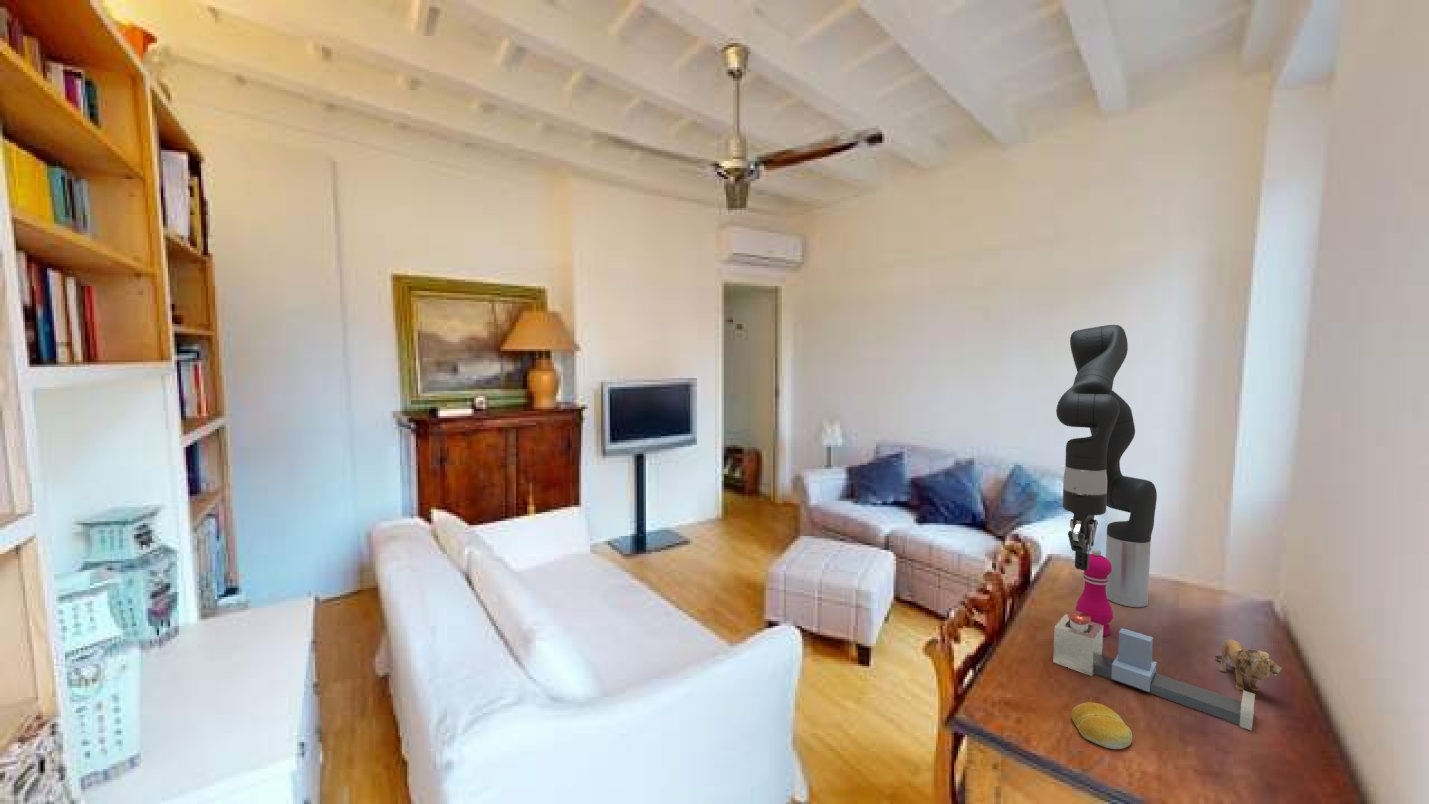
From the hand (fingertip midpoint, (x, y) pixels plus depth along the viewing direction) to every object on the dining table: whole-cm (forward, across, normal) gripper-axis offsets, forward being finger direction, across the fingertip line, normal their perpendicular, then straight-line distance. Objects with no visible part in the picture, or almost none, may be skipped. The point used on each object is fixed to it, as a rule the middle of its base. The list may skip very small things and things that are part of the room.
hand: (1081, 568), depth 112 cm
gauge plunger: (+16, 0, 0) cm, 16 cm away
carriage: (+21, 0, +10) cm, 23 cm away
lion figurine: (+21, -15, +24) cm, 36 cm away
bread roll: (+21, +22, +8) cm, 31 cm away
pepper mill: (+21, -18, -1) cm, 28 cm away
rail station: (+21, 0, +11) cm, 24 cm away
